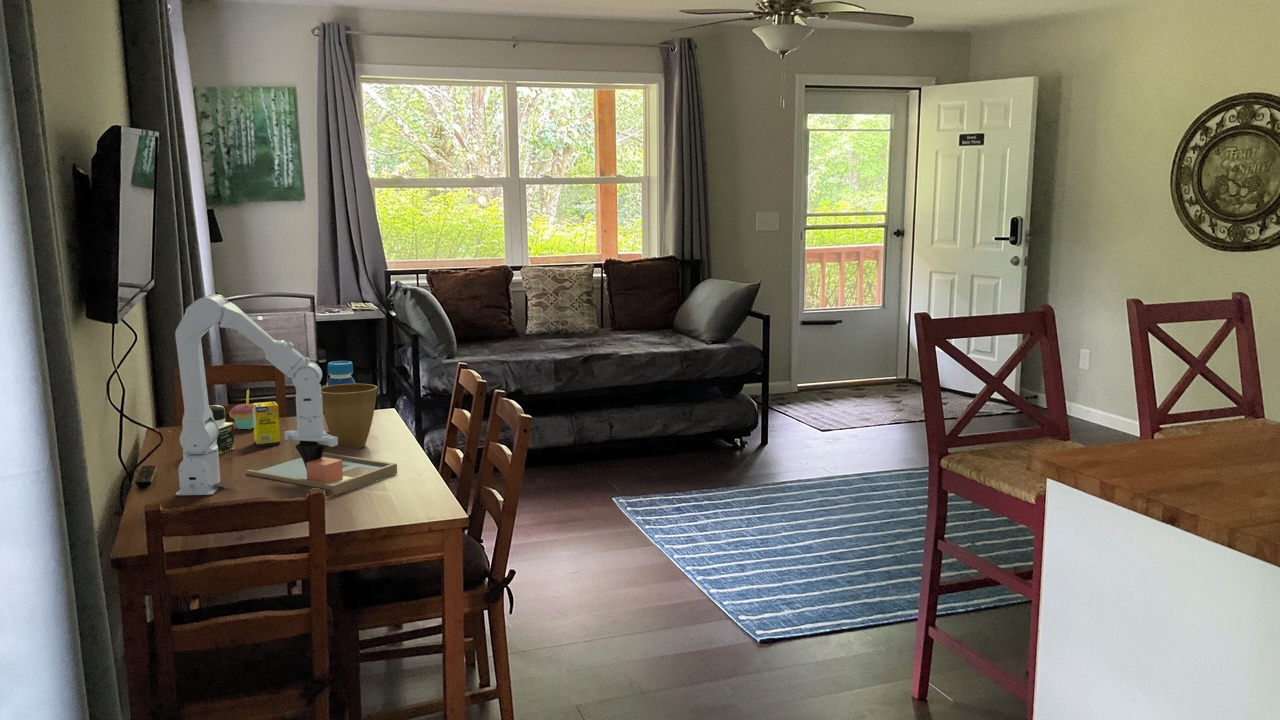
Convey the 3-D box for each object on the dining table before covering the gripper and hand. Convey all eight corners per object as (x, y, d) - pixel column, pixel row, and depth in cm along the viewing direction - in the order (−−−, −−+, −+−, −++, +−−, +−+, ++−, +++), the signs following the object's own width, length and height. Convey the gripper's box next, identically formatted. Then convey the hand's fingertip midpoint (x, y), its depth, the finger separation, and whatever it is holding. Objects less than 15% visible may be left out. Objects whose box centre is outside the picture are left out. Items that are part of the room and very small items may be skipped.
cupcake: (268, 427, 278) (266, 386, 276) (242, 432, 271) (240, 391, 269) (249, 423, 282) (247, 383, 280) (223, 428, 275) (221, 387, 273)
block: (307, 481, 218) (306, 462, 217) (325, 475, 223) (324, 457, 222) (325, 485, 216) (324, 465, 215) (342, 478, 221) (342, 460, 220)
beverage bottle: (362, 428, 277) (359, 360, 274) (352, 435, 268) (349, 365, 265) (333, 428, 277) (330, 359, 274) (323, 435, 269) (319, 364, 266)
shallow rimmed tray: (246, 480, 224) (246, 470, 224) (313, 459, 243) (313, 450, 242) (333, 496, 212) (333, 486, 212) (397, 473, 231) (396, 463, 231)
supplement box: (280, 444, 258) (278, 404, 256) (257, 447, 255) (254, 407, 253) (277, 440, 263) (275, 400, 261) (254, 442, 260) (251, 403, 258)
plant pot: (390, 444, 259) (388, 386, 256) (347, 456, 246) (344, 395, 244) (353, 437, 266) (350, 380, 264) (309, 448, 254) (306, 389, 251)
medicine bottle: (218, 455, 246) (215, 409, 244) (193, 454, 248) (190, 408, 246) (235, 448, 253) (232, 404, 251) (211, 447, 254) (208, 403, 253)
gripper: (346, 415, 220) (348, 472, 222) (299, 409, 226) (302, 464, 228) (323, 421, 214) (326, 480, 216) (276, 414, 220) (279, 472, 222)
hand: (312, 473), depth 222 cm, fingers closed
